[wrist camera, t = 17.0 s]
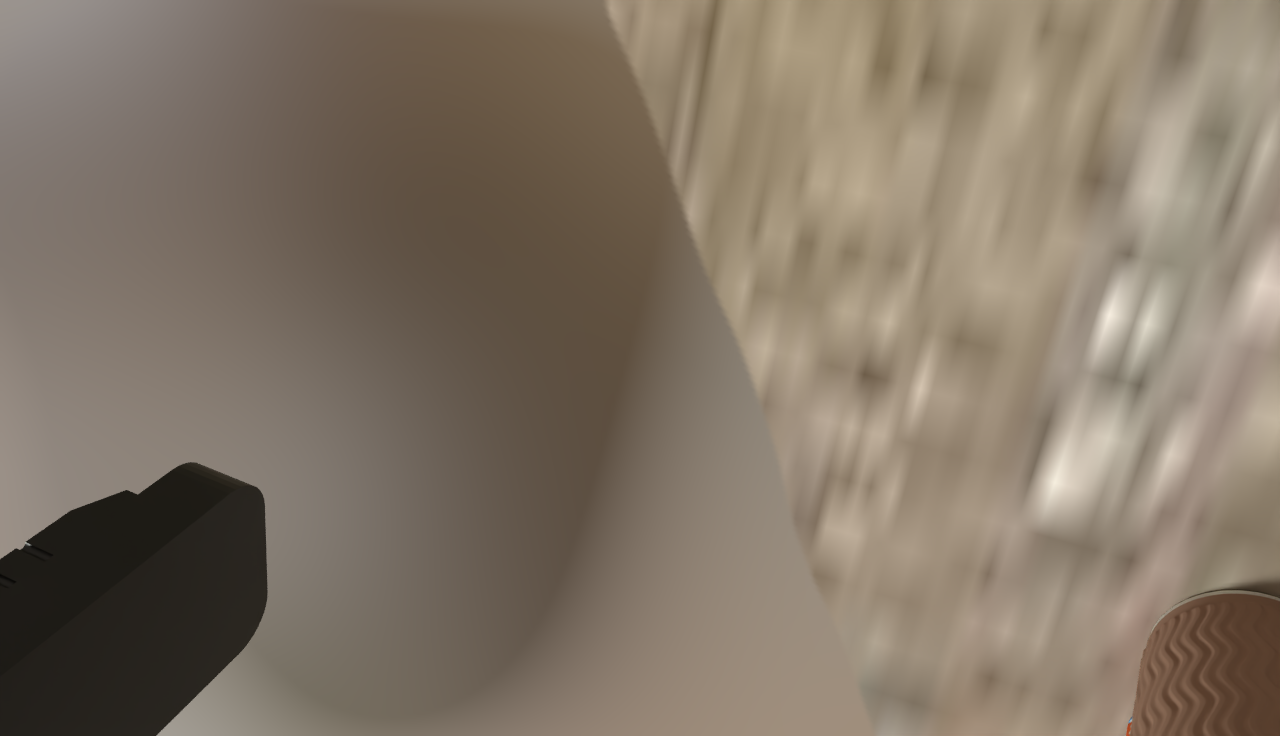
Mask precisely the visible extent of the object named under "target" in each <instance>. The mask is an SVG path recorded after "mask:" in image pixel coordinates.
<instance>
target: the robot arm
mask: <svg viewBox="0 0 1280 736" xmlns="http://www.w3.org/2000/svg"><path fill="white" fill-rule="evenodd" d="M265 531H266V529H265V503H264V498H263V495H262V493H261V491H260V490H259V489H258V488H257V487H254V486H252V485H250V484H247V483H245V482H242V481H240V480H238V479H235V478H232V477H230V476H228V475H225V474H223V473H220V472H218V471H215V470H213V469H210V468H208V467H205V466H203V465H201V464H198V463H192V462H190V463H185V464H182V465H180V466H178V467H176V468H175V469H173V470H172V471H170V472H169V473H167V474H166V475H165V476H163V477H162V478H160V479H159V480H158V481H156V482H155V483H153V484H152V485H151V486H149V487H148V488H146V489H145V490H144V491H142V492H141V493H140V494H138V495H137V494H135V493H133V492H130V491H128V490H125V491H123V492H120V493H117V494H115V495H112V496H109V497H107V498H104V499H101V500H98V501H96V502H93V503H90V504H87V505H85V506H82V507H79V508H77V509H74V510H71V511H70V512H68V513H67V514H65V515H64V516H62V517H61V518H60V519H58V520H57V521H55V522H54V523H52V524H51V525H49V526H48V527H46V528H45V529H44V530H42V531H41V532H39V533H38V534H37V535H35V536H33V537H32V538H31V539H29V540H28V541H26V542H25V546H24V547H23V549H21V550H19V549H14V550H13V551H12V552H10V553H9V554H7V555H6V556H4V557H3V558H1V559H0V736H156V735H157V734H158V733H159V732H160V731H161V730H162V729H163V728H164V727H165V726H166V725H167V724H168V723H169V722H170V721H171V720H172V719H173V718H174V717H175V716H177V715H178V714H179V712H180V711H181V710H183V709H184V707H185V706H187V705H188V704H189V703H190V702H191V701H192V700H193V699H194V698H195V697H196V696H197V695H198V694H199V693H200V692H201V691H202V690H203V689H204V688H205V687H206V686H207V685H208V684H209V683H210V682H211V681H212V680H213V679H214V678H215V677H216V676H217V675H218V674H219V673H220V672H221V671H222V670H223V669H224V668H225V667H226V666H227V665H228V664H229V663H230V662H231V661H232V660H233V659H234V658H235V657H236V656H237V655H238V654H239V653H240V652H241V651H242V650H243V649H244V648H245V646H246V645H247V644H248V642H249V641H250V639H251V638H252V636H253V635H254V633H255V631H256V629H257V627H258V626H259V623H260V621H261V619H262V616H263V613H264V610H265V607H266V602H267V564H266V532H265Z"/></svg>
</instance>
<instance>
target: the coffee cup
mask: <svg viewBox="0 0 1280 736" xmlns="http://www.w3.org/2000/svg"><path fill="white" fill-rule="evenodd" d="M1126 736H1280V598H1278V597H1274V596H1271V595H1267V594H1263V593H1259V592H1251V591H1243V590H1225V591H1216V592H1210V593H1204V594H1200V595H1197V596H1194V597H1192V598H1189V599H1186V600H1184V601H1182V602H1181V603H1179V604H1177V605H1175V606H1173V607H1172V608H1171V609H1169V610H1168V611H1167V612H1166V613H1165V614H1164V615H1162V616H1161V618H1160V619H1159V620H1158V622H1157V623H1156V624H1155V626H1154V627H1153V629H1152V632H1151V634H1150V637H1149V639H1148V642H1147V647H1146V649H1144V651H1143V657H1142V659H1141V665H1140V671H1139V678H1138V685H1137V691H1136V700H1135V704H1134V711H1133V716H1132V717H1131V719H1130V720H1129V724H1128V727H1127V734H1126Z"/></svg>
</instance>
